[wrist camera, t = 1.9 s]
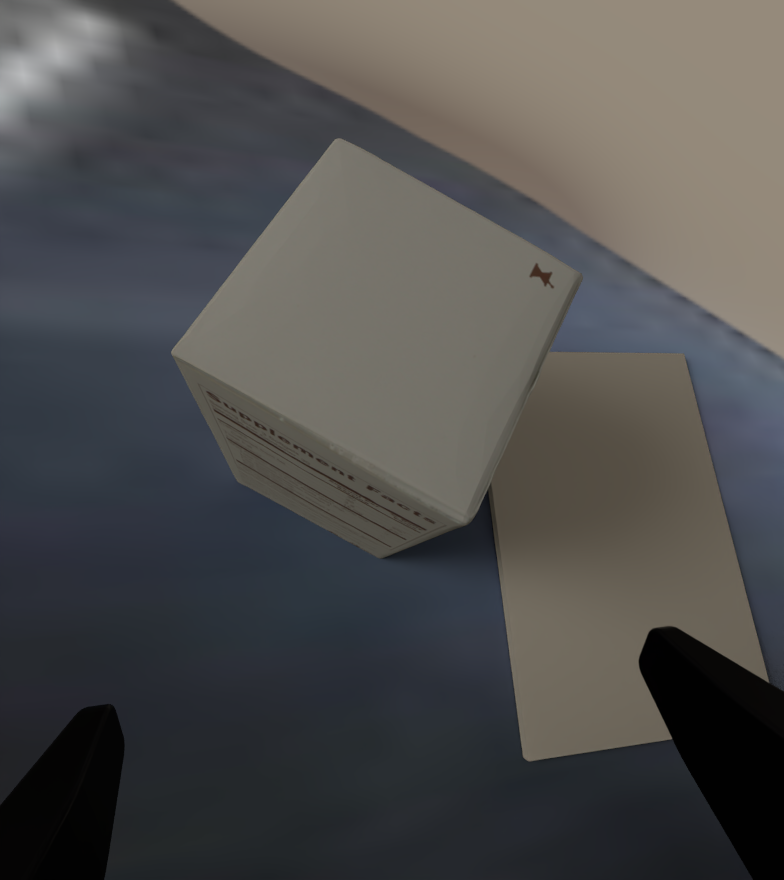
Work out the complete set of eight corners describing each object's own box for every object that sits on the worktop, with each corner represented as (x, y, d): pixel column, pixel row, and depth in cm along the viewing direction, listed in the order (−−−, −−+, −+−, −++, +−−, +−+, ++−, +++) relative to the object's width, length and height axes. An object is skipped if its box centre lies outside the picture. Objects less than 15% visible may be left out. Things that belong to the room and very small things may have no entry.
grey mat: (769, 720, 23) (779, 722, 23) (523, 757, 21) (528, 761, 20) (677, 357, 28) (683, 353, 28) (470, 355, 26) (473, 351, 26)
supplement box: (317, 351, 25) (340, 121, 13) (452, 428, 25) (599, 270, 13) (230, 482, 22) (156, 347, 10) (380, 567, 22) (479, 531, 10)
